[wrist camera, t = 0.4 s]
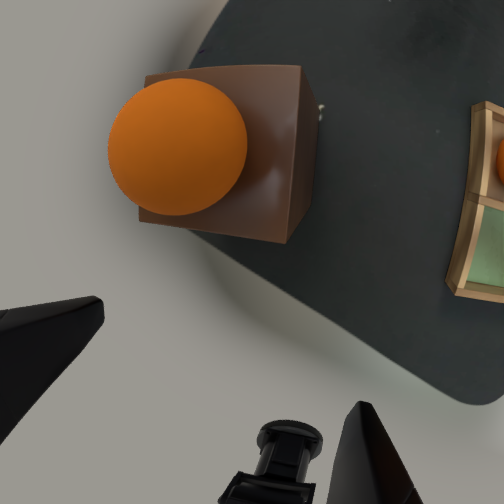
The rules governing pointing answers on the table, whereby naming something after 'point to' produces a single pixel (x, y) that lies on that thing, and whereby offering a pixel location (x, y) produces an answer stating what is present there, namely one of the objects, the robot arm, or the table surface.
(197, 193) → the clementine
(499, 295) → the fruit rack
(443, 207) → the table surface
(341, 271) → the table surface
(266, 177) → the brown wooden block
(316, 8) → the table surface
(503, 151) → the clementine
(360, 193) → the table surface
